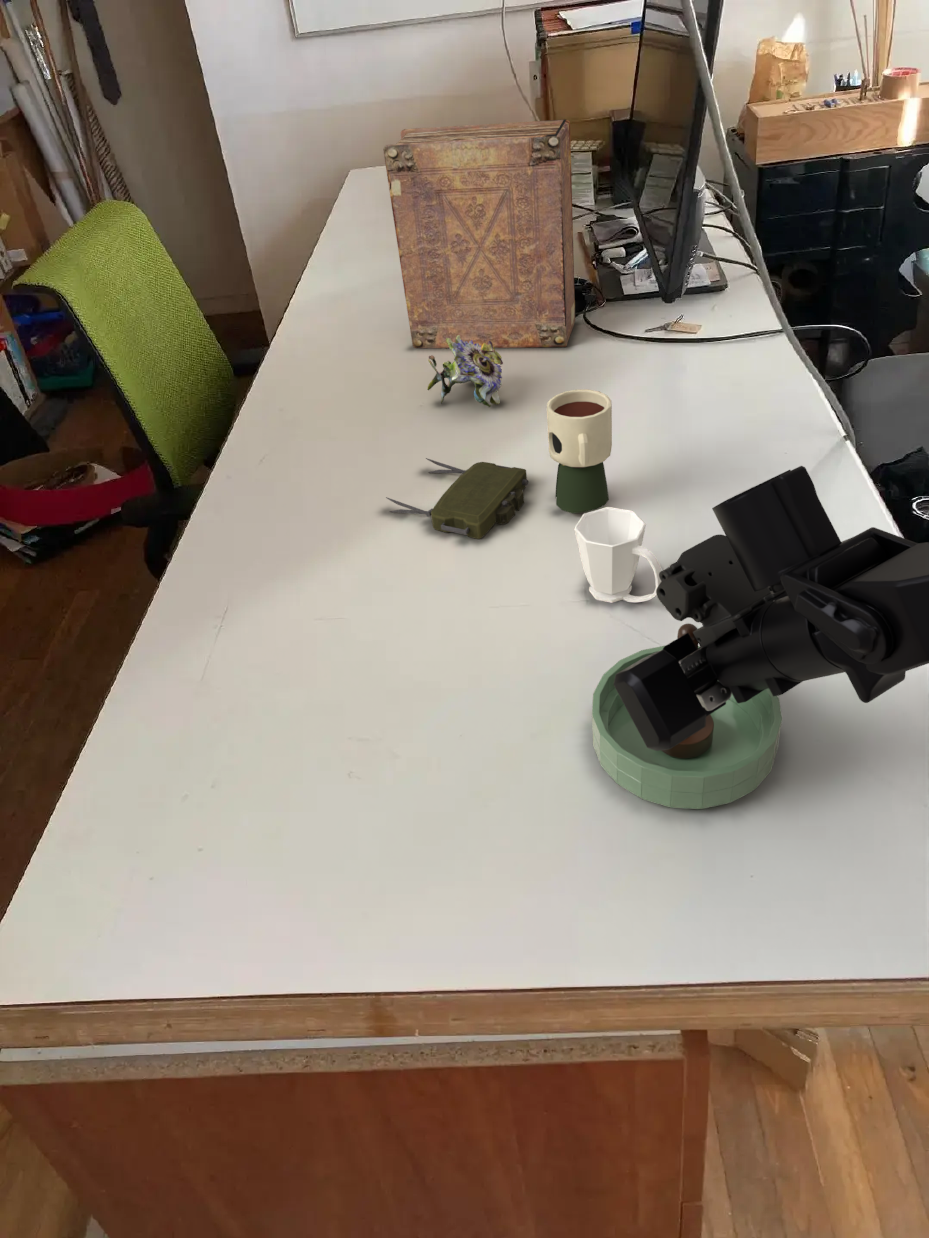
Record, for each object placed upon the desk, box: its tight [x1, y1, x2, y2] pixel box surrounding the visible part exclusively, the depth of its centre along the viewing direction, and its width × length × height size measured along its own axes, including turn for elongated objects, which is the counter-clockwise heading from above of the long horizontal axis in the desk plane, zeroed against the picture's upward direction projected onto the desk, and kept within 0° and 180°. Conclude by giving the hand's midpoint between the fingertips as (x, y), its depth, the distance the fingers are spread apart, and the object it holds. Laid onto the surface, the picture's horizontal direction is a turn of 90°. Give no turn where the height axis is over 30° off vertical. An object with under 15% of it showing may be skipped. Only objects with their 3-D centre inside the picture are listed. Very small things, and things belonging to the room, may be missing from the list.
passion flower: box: [427, 335, 504, 408], centre depth 131 cm, size 11×11×12 cm
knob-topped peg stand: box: [661, 623, 714, 758], centre depth 75 cm, size 5×5×12 cm
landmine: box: [385, 457, 529, 540], centre depth 112 cm, size 14×3×15 cm
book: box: [383, 118, 576, 349], centre depth 141 cm, size 25×9×30 cm, turn 77°
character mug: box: [546, 388, 613, 514], centre depth 106 cm, size 11×7×13 cm, turn 0°
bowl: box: [591, 644, 783, 810], centre depth 78 cm, size 15×15×4 cm
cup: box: [573, 506, 662, 604], centre depth 93 cm, size 7×10×8 cm
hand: (673, 672), depth 76 cm, fingers closed on knob-topped peg stand, 2 cm apart
